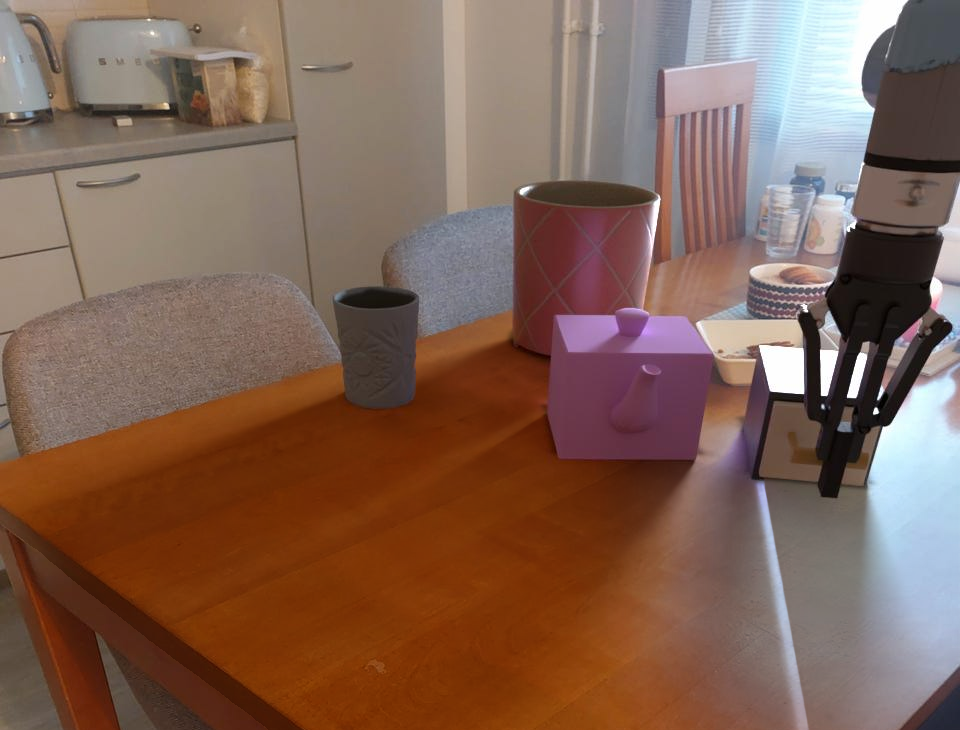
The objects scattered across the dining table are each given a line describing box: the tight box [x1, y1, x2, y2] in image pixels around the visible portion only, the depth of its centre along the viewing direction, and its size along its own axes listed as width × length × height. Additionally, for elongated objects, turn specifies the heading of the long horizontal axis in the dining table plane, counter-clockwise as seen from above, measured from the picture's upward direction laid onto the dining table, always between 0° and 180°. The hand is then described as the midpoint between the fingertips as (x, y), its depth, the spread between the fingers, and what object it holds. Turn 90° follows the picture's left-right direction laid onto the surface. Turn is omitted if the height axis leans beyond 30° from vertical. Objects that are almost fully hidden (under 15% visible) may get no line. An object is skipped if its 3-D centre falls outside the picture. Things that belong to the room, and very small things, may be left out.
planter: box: [511, 179, 661, 357], centre depth 126 cm, size 19×19×20 cm
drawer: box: [759, 399, 880, 487], centre depth 96 cm, size 19×10×8 cm, turn 170°
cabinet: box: [742, 345, 885, 483], centre depth 100 cm, size 15×12×10 cm
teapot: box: [546, 308, 715, 461], centre depth 101 cm, size 15×25×14 cm, turn 2°
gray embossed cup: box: [332, 285, 420, 410], centre depth 111 cm, size 10×10×12 cm
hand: (827, 491), depth 88 cm, fingers closed
